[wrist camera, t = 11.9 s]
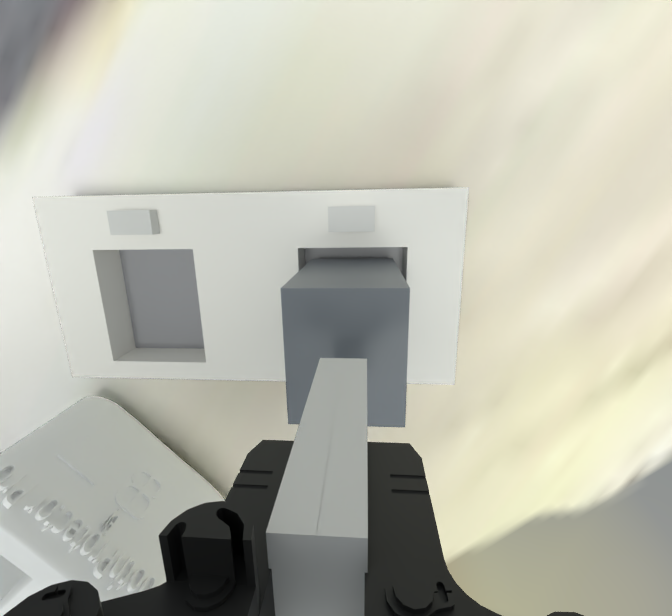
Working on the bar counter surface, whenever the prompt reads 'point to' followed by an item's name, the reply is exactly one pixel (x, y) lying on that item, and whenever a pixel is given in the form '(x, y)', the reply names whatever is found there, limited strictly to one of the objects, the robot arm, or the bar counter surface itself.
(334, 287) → the plug
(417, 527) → the robot arm
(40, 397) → the bar counter surface
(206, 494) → the cable organizer
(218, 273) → the socket plate
